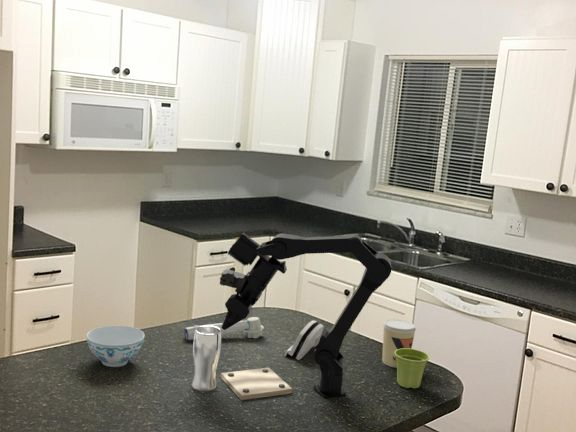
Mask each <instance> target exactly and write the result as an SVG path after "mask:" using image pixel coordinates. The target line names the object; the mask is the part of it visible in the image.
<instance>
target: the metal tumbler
mask: <svg viewBox="0 0 576 432" xmlns="http://www.w3.org/2000/svg"><path fill="white" fill-rule="evenodd" d="M198 326H199V327H197V328H196V329H195V335H194V340H193V343H192V344H193V345H192V356H193V365H194V375H193V379H192V383H191V384H192V388H193V389H194V390H196V391H199V392H211V391H213V390H215V389H216V388H217V379H216V378H217V377H216V376H217V375H216V372H217V368H218V364H219V360H220V357H221V350H222V335H221V329H220V328H218V327H215V326H200V325H198Z"/></svg>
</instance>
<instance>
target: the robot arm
mask: <svg viewBox="0 0 576 432" xmlns="http://www.w3.org/2000/svg"><path fill="white" fill-rule="evenodd" d="M335 253H336V254H340V253H341V254H342V253H343V254H344V253H351V254H352V255H353V256H354V258H356V259H357V260H358V261H359V262H360V264H361V265H362V266H364V268H365V269H364V271H363V274H362V277H361V279H360V282H359V284H358V286H357V287H356V289H355V290H354V292H353V294H352V295H351V297H350V298H349V300H348V301H347V303H346V305H345V307H344V308H343V310H342V311H341V313H340V314H339V316H338V318H337V319H336V321H335V322H334V324H333V325H332V326H331V328H329V329H328V330H326V329H325V327H324V328H323V330H322V333H321V335H320V336H319V338H317V339H316V341H315V345H314V346H313V350H314V351H313V359H314V361H315V363H316V364H317V365H318V366H319V375H318V384H317V385H313V387H312V388H313V389H314V390H315V391H316V392H317V393H318V394H320V395H321V396H322V397H323V398H325V399H327V398H334V397H341V396H346V395H347V392H346V391H344V390H343V381H344V380H343V379H344V372H343V371H344V364H345V356H344V354H342V352H340V350H341V347H342V344H343V342H344V339H345V337H346V336H347V334H348V332H349V330H351V327H352V326H353V324H354V323H355V321H356V319H357V318H358V317H359V314H360V313H361V311H362V310H363V308H364V307H365V305H366V304H367V302H368V301H369V299H370V298H371V296H372V294H373V293H374V292H375V291H376V290H377V289H378V288H380V287H381V286H382V285H383V284H384V283H385V282H386V281H387V280H388V278H390V276H391V274H392V263H391V259H390V258H389V256H387V254H385V253H381V252H378V251H377V250H376V249H374V248H373V247H372V246H370V245H369V244H368V243H367V242H366V241H364V240H363V239H362V238H361V237H360V235H357V234H352V235H339V236H338V235H337V236H311V237H306V236H300V235H297V234H291V233H290V234H289V233H285V232H283V233H279V234H278V233H277V234H276V235H275V236H274V237H273V238H272V239H271V240H269V241H264V242H262V243H261V244H260V243H258V242H256V241H255V240H254V239H252V238H251V237H250V236H249V235H248V234H247V233H245V232H242V233H241V234H240V236H239V237H238V239H236V241H235V242H234V243H233V244H232V245H231V247H230V248H229V250H228V251H227V255H229V256H230V257H231V258H233V259H235V261H237V262H238V263H240V264H241V265H243V266H244V267H246V266H252V265H253V263H254V262H255V260H256V259H257V258H258V257H259V258H258V260H256V262H255V263H254V265H253V266H252V268H251V269H250V270H249V271H248V272H247V273H246V274H244V273H242V272H239V271H236V270H231V269H226V268H225V269H223V271H222V272H221V276H220V277H219V285H221V286H226V287H230V288H233V289H234V291H235V292H236V293H234V294H231V295H230V297H228V299H227V301H225V303H224V305H225V306H224V307H225V308H226V310H227V312H226V315H225V317H224V320H223V322H222V323H223V325H222V327H221V328H222V329H223V330H226V329H228V328H229V327H231V326H233V325H234V324H236V323H238V322H239V321H243V320H246V318H247V317H248V315H249V314H250V313H251V311H252V310H253V306H254V305H255V304H256V303H257V302H258V301H259V300H260V298H261V297H262V295H263V292H264V291H265V290H266V288H267V287H268V285H269V284H270V282H271V281H272V280H273V278H274V277H275V276H276V274H277V272H280V273H281V274H285V273H286V272H287V265H286V263H287V262H286V259H287V260H288V259H290V258H291V259H292V258H295V257H298V256H301V255H306V254H307V255H308V254H309V255H310V254H312V255H313V254H335ZM280 260H284V261H280Z"/></svg>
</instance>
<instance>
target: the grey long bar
mask: <svg viewBox="0 0 576 432" xmlns="http://www.w3.org/2000/svg"><path fill="white" fill-rule="evenodd" d="M222 325H223V322H219V323H208V324H201V325H200V324H199V325H197V324H194V326H188V327H184V328H183V336H184V340H185V341H186V342H187V341H194V335H195V329H196V328H197V327H199V326H215V327H218V328H220V329H221V336H222V335H226V334H231V333H235V332H242V331H243V332H244V333H245V334H244V337H246V338H247V339H248V338H249V339H251V338H253V339H259V338H260V337H263V335H264V332H263V331H264V329H265V327H264V325H262V323H261V319H260V317H258V316H252V317H251V316H250V317H248V318H247V319H243V320H241V321H239V322H238V323H236V324H234V325H233V326H231V327H229V328H228V329H226V330H223V329H222V328H221V327H222Z"/></svg>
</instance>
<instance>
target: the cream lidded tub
mask: <svg viewBox="0 0 576 432" xmlns="http://www.w3.org/2000/svg"><path fill="white" fill-rule="evenodd" d="M415 332H416V326H415V324H413V323H412V322H409V321H407V320H402V319H387V320H386V321H384V323H383V335H382V336H383V337H382V355H381V356H382V358H381V359H382V360H381V361H382V363H383V364H384V365H386V366H388V367H391V368H395V369H397V360H396V355H395V351H396V350H397V349H402V348H409V349H413V343H414V339H415V334H416V333H415Z"/></svg>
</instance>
